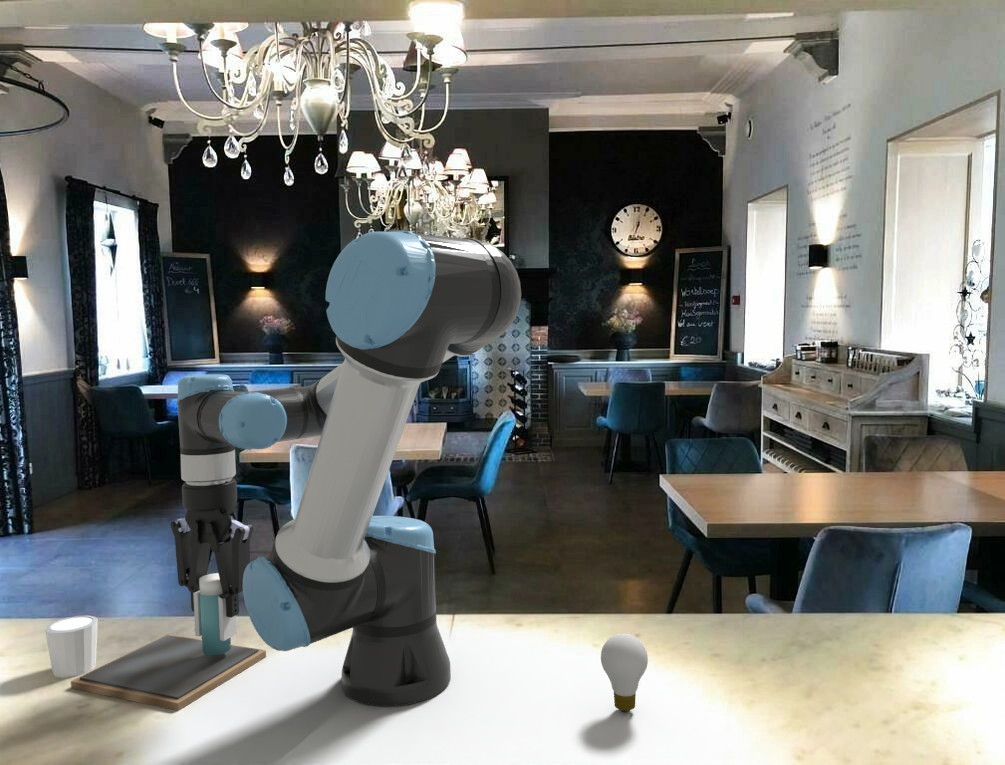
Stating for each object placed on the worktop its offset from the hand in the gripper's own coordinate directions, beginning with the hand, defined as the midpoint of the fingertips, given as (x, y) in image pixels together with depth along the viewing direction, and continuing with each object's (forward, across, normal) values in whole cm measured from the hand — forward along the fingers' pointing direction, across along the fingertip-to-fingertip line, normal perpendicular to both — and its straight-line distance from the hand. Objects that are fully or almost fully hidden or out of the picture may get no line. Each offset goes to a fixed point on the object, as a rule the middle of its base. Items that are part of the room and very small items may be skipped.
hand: (216, 634), depth 115 cm
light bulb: (+4, -60, -6) cm, 61 cm away
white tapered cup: (+5, +20, +8) cm, 22 cm away
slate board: (+5, +5, +4) cm, 8 cm away
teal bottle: (+2, 0, 0) cm, 2 cm away
